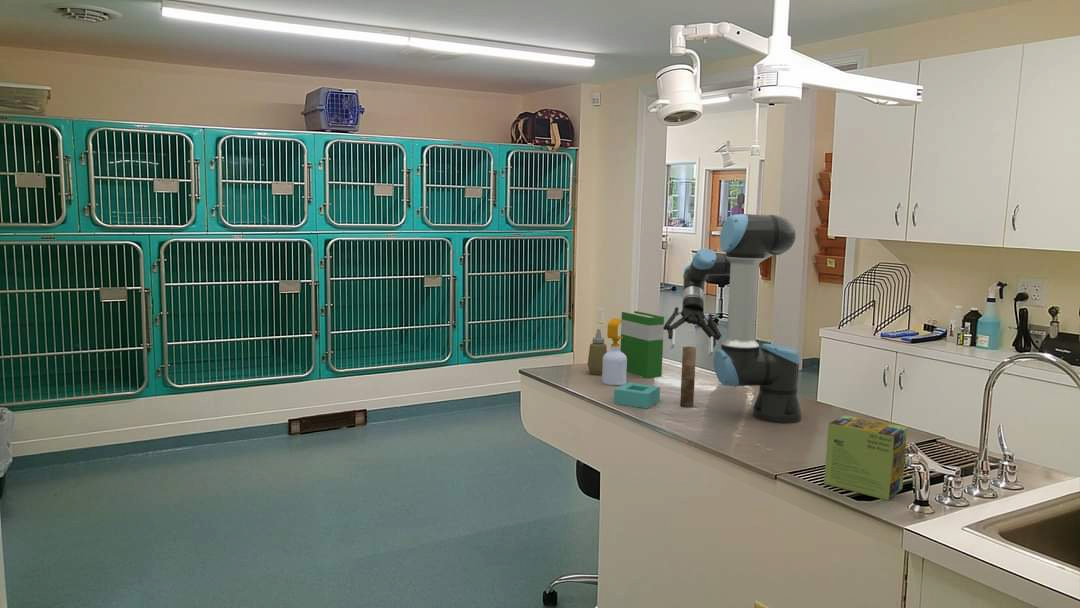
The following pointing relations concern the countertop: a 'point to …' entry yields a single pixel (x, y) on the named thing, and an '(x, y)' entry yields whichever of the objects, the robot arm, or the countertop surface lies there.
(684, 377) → the dowel
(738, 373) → the robot arm
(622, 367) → the soap bottle
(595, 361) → the squeeze bottle
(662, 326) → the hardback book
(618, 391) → the socket
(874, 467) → the protein box
